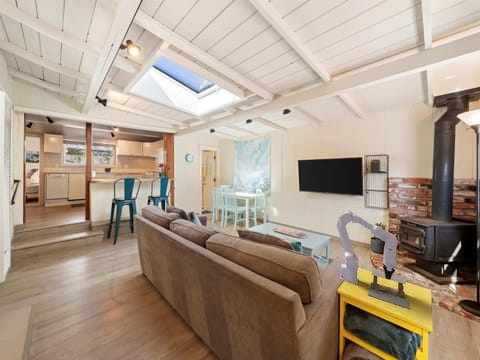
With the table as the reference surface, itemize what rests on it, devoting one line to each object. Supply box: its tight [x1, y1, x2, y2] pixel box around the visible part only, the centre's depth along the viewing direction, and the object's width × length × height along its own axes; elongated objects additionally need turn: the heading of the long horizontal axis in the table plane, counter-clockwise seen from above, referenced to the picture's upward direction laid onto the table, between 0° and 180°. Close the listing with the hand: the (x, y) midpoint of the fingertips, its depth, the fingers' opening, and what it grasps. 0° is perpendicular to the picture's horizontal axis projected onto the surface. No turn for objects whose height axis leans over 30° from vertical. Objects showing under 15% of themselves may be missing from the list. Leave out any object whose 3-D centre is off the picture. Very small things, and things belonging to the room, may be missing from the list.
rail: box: [371, 267, 407, 285], centre depth 116 cm, size 16×3×3 cm, turn 54°
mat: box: [367, 287, 411, 310], centre depth 110 cm, size 18×8×1 cm, turn 54°
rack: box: [370, 275, 406, 299], centre depth 117 cm, size 16×6×6 cm, turn 54°
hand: (387, 277), depth 117 cm, fingers closed on rail, 3 cm apart
